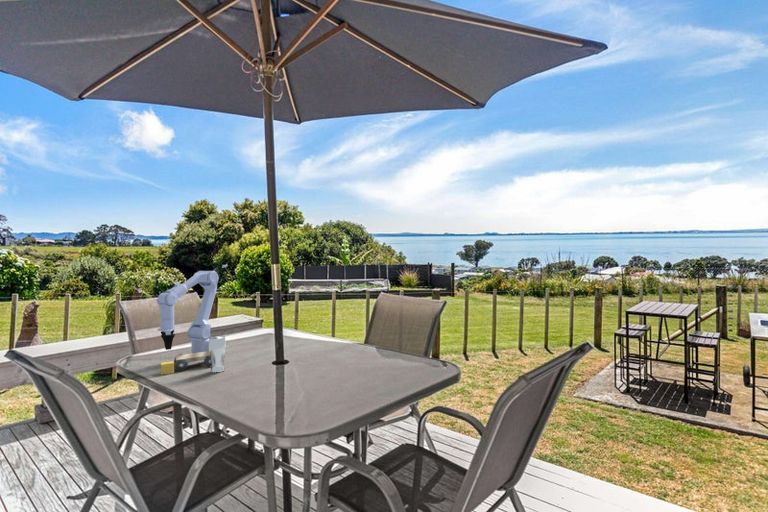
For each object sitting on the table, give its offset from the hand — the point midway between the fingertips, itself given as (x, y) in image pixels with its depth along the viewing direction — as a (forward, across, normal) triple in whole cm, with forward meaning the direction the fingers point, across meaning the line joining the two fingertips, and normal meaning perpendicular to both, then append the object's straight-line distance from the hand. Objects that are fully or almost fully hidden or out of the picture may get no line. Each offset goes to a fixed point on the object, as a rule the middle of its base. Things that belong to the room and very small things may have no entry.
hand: (168, 347), depth 181 cm
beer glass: (+9, +20, +19) cm, 29 cm away
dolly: (+9, +5, +11) cm, 15 cm away
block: (+9, +10, -1) cm, 14 cm away
